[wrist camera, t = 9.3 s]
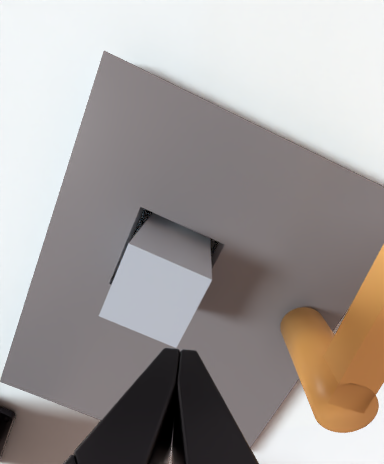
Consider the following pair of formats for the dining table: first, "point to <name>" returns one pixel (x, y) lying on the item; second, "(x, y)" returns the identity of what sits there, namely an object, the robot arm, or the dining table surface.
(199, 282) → the plug
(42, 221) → the dining table surface
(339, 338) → the long orange beam
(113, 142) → the socket board
